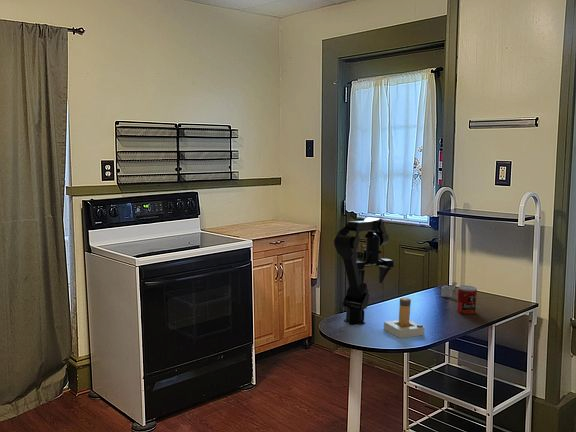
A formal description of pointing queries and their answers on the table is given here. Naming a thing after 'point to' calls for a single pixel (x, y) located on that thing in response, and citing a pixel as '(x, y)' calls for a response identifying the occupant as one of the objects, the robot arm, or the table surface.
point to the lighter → (447, 290)
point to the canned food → (466, 299)
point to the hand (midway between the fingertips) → (371, 284)
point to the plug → (404, 312)
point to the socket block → (404, 329)
